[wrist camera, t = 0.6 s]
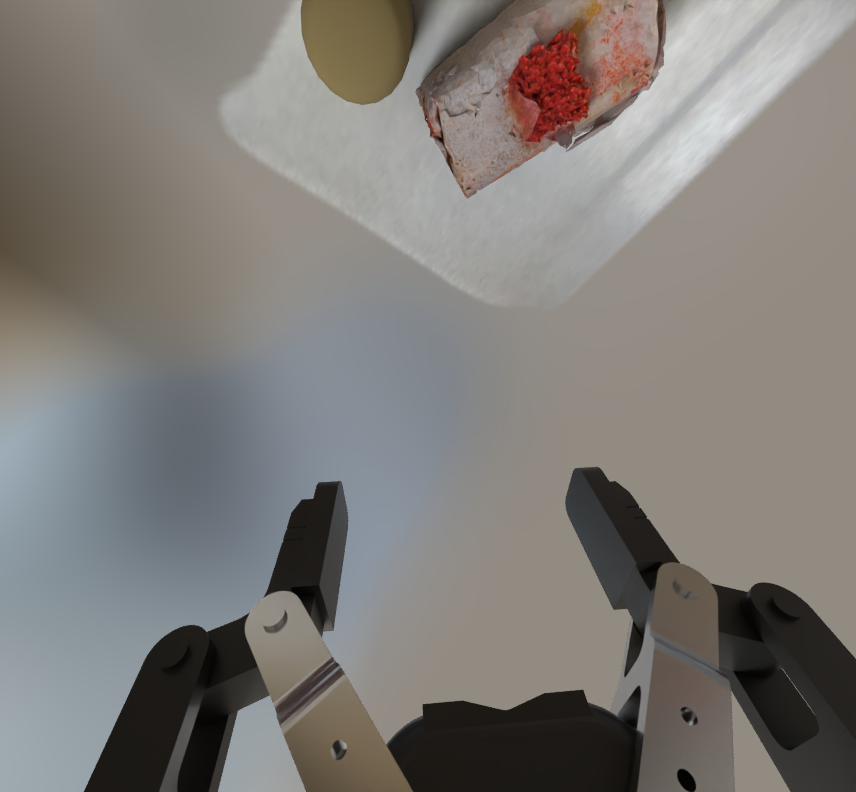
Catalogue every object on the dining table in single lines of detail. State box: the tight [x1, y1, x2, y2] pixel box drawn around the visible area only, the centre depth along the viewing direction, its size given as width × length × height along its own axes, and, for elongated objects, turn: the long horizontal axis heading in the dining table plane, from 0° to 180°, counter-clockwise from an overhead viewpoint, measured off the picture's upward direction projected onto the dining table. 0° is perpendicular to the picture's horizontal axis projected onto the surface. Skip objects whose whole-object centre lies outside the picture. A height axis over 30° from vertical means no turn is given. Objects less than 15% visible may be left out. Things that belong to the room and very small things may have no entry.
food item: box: [416, 0, 666, 198], centre depth 23 cm, size 14×8×10 cm, turn 122°
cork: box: [301, 0, 414, 105], centre depth 20 cm, size 6×6×11 cm
